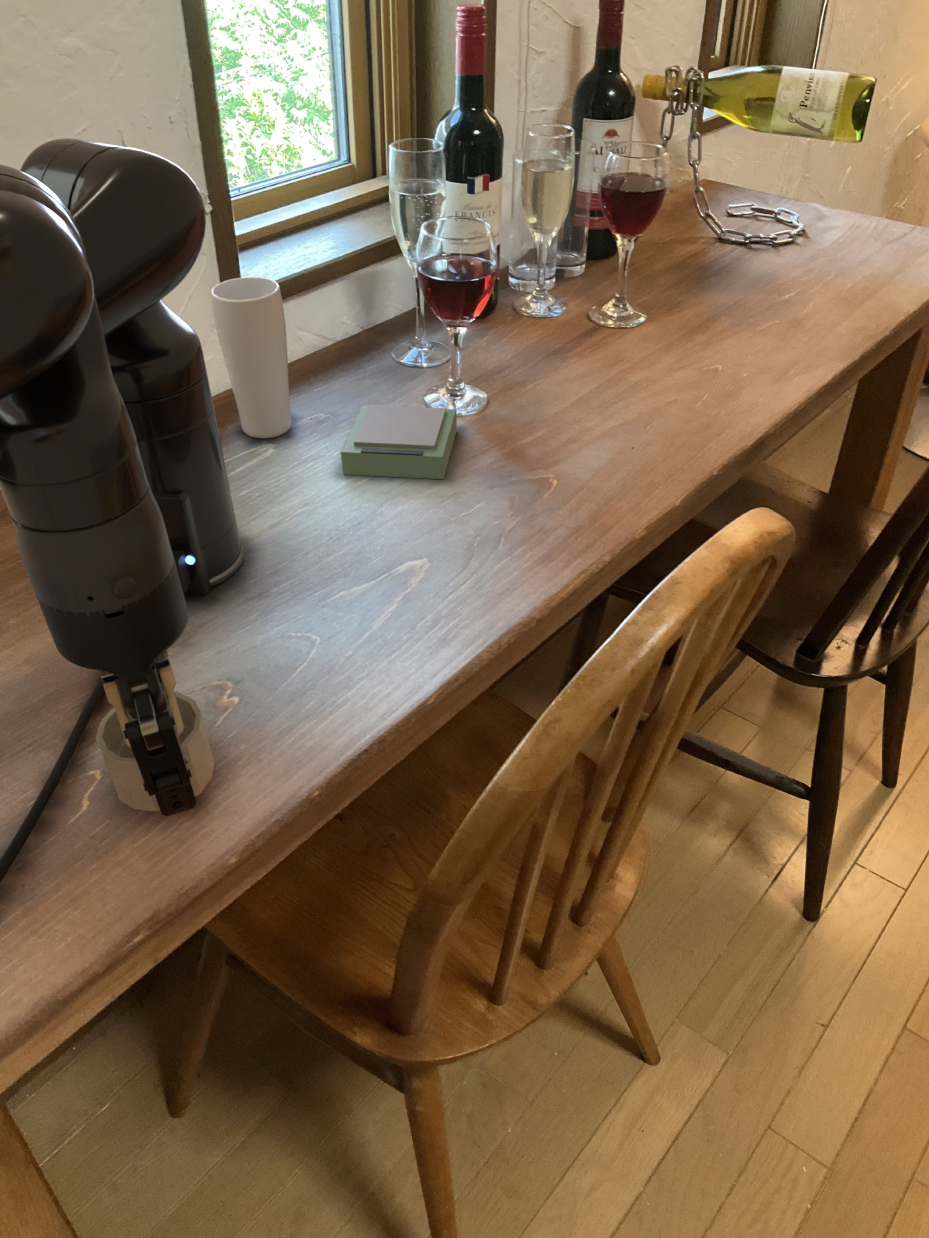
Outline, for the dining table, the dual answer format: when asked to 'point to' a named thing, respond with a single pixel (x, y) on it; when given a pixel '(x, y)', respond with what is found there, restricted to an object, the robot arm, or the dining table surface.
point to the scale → (400, 442)
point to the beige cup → (126, 767)
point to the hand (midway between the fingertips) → (169, 769)
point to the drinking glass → (255, 352)
